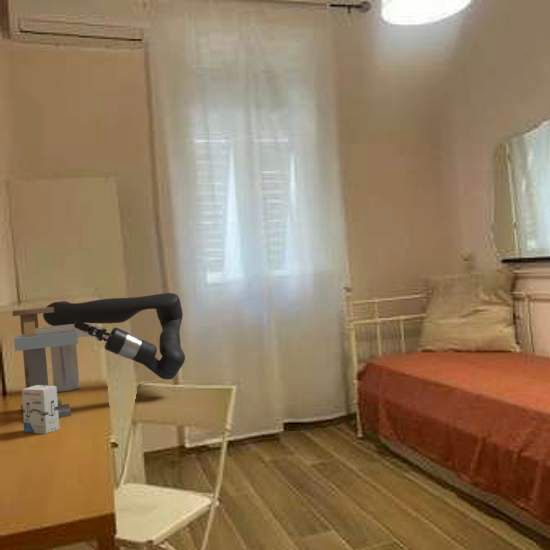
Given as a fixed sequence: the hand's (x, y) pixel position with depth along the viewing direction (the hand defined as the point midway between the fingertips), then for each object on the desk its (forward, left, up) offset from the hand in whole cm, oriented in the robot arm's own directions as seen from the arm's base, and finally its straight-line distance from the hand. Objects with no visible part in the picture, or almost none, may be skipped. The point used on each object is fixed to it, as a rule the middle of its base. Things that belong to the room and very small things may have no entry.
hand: (74, 322), depth 181 cm
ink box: (+20, -11, -27) cm, 36 cm away
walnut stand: (-13, -11, -27) cm, 32 cm away
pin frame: (0, -8, -27) cm, 28 cm away
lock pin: (0, -5, -4) cm, 7 cm away
